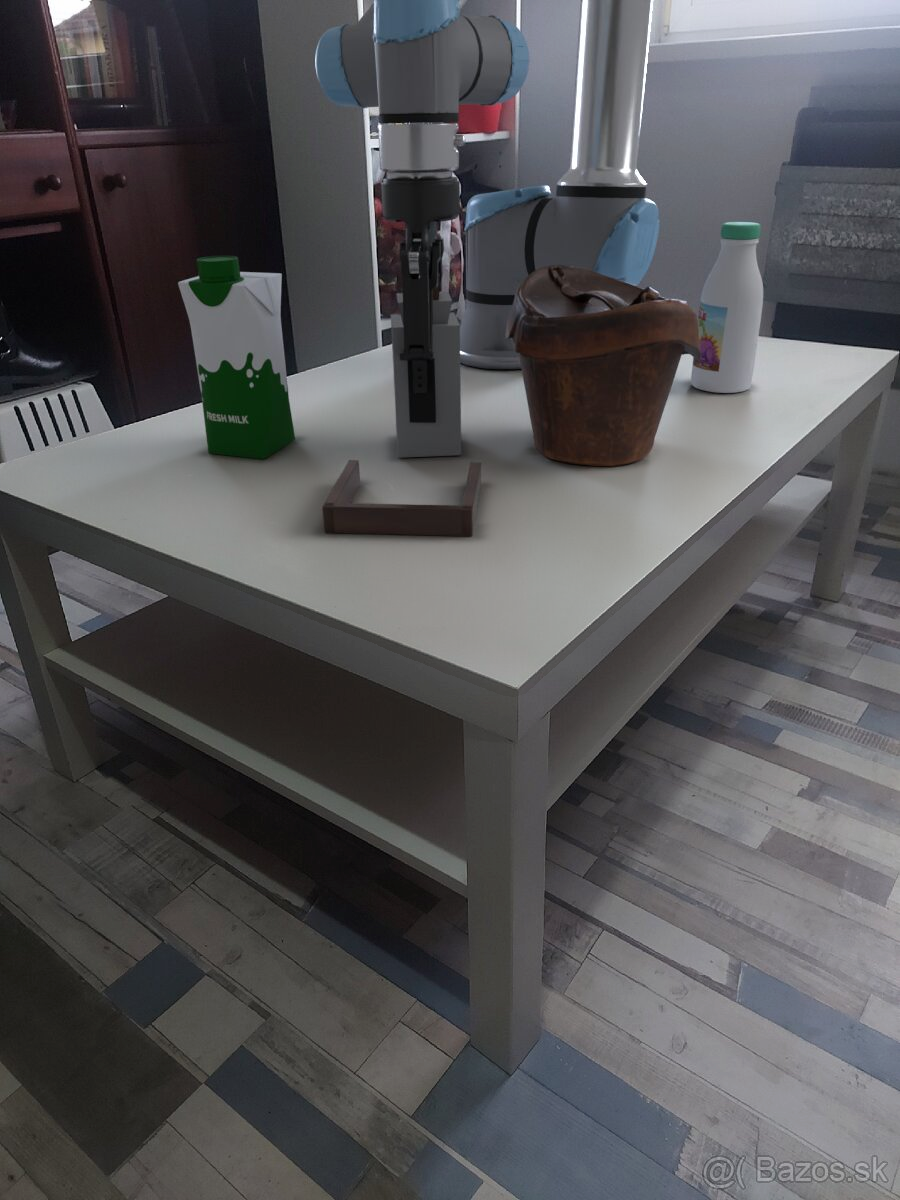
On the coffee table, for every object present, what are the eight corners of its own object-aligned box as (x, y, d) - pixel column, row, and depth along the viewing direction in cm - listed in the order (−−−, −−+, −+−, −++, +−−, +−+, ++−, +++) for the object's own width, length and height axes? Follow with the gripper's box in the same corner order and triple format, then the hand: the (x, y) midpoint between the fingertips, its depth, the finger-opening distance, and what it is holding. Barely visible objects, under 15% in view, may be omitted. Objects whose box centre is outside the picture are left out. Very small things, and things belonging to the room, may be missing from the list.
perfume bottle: (396, 437, 100) (388, 269, 92) (455, 435, 101) (453, 267, 92) (398, 457, 94) (389, 279, 86) (461, 455, 95) (459, 277, 86)
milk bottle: (744, 379, 120) (767, 219, 111) (756, 394, 114) (781, 226, 104) (686, 378, 121) (704, 220, 112) (694, 394, 114) (714, 226, 105)
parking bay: (350, 483, 88) (348, 459, 87) (481, 486, 87) (481, 461, 86) (324, 533, 78) (322, 506, 77) (472, 536, 77) (472, 509, 76)
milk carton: (196, 455, 97) (165, 260, 87) (240, 430, 104) (215, 248, 94) (267, 463, 94) (243, 263, 84) (307, 437, 101) (289, 250, 92)
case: (677, 487, 86) (699, 294, 77) (481, 465, 92) (482, 284, 84) (699, 432, 101) (719, 265, 92) (528, 417, 107) (533, 258, 98)
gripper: (449, 180, 76) (453, 440, 87) (467, 169, 93) (468, 389, 104) (363, 181, 77) (377, 439, 88) (396, 170, 93) (404, 388, 104)
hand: (426, 411), depth 96 cm, fingers closed on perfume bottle, 6 cm apart
